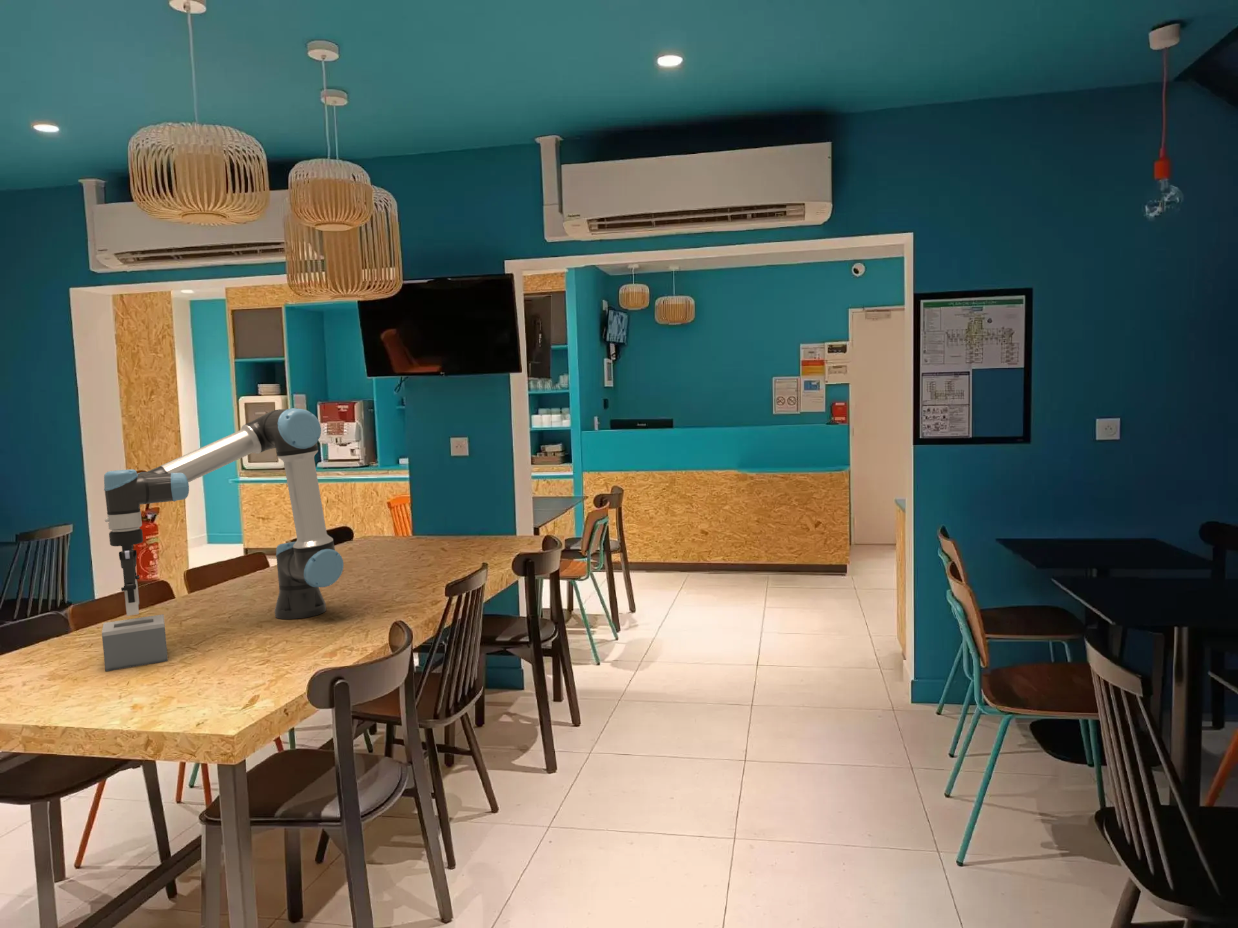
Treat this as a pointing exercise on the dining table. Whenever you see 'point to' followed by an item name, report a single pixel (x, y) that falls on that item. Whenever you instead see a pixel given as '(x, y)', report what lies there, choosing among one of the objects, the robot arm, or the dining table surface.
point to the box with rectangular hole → (134, 642)
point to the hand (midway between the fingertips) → (133, 609)
